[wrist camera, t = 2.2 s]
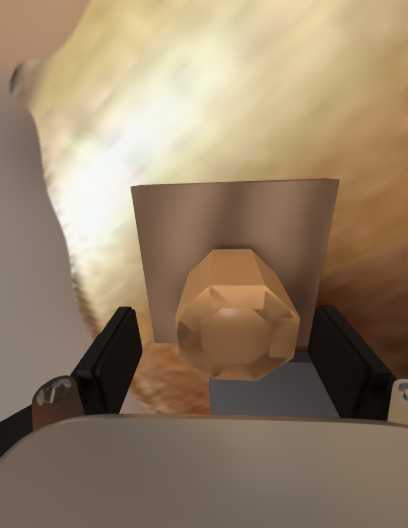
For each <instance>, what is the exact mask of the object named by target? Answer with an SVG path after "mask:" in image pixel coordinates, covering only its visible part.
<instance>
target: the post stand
mask: <svg viewBox="0 0 408 528" xmlns="http://www.w3.org/2000/svg"><path fill="white" fill-rule="evenodd" d="M338 185H339V180H338V179H301V180H272V181H243V182H215V183H186V184H157V185H138V186H132V187H131V193H132V199H133V206H134V212H135V218H136V225H137V231H138V237H139V244H140V250H141V257H142V263H143V269H144V276H145V282H146V288H147V295H148V301H149V307H150V314H151V320H152V327H153V333H154V339H155V343H178V339H177V329H176V320H175V315H176V312H177V309H178V306H179V303H180V299H181V296H182V293H183V290H184V286H185V283H186V280H187V277H188V274H189V272H190V271H191V270H193V269H194V268H195V267H196V266H197V265H198V264H199V263H200V262H201V261H202V260H203V259H204V258H205V257H206V256H207V255H208V254H209V253H210V252H211V251H212V250H213V249H251V250H252V251H253V252H255V253H256V254H257V255H258V256H259V257H260V258H261V259H262V260H263V261H264V262H265V263H266V264H267V265H268V266H269V267H270V268H271V269H272V270H273V271H274V272H275V273H276V274H277V276H278V278H279V280H280V282H281V284H282V285H283V287H284V289H285V291H286V293H287V295H288V297H289V298H290V300H291V302H292V304H293V306H294V308H295V309H296V311H297V313H298V315H299V317H300V322H299V329H298V335H297V341H296V346H308V342H309V337H310V332H311V326H312V321H313V316H314V311H315V305H316V300H317V295H318V290H319V284H320V279H321V274H322V269H323V264H324V258H325V253H326V248H327V243H328V237H329V232H330V227H331V222H332V216H333V211H334V206H335V201H336V196H337V190H338Z"/></svg>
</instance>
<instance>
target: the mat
mask: <svg viewBox="0 0 408 528" xmlns="http://www.w3.org/2000/svg"><path fill="white" fill-rule="evenodd" d="M209 382H210V409H211V415H247V416H289V417H327V418H340V417H339V415H338V413H337V411H336V409H335V407H334V405H333V403H332V401H331V399H330V397H329V395H328V393H327V391H326V389H325V387H324V385H323V383H322V381H321V379H320V377H319V375H318V373H317V371H316V369H315V367H314V365H313V363H312V361H311V359H310V357H309V355H308V351H295V353H294V358H293V359H291V360H289V361H288V362H286V363H285V364H283V365H282V366H280V367H278V368H277V369H275V370H274V371H272V372H270V373H269V374H267V375H266V376H264V377H263V378H261V379H259V380H258V381H247V380H218V379H211V378H210V377H209Z"/></svg>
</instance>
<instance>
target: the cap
mask: <svg viewBox="0 0 408 528" xmlns="http://www.w3.org/2000/svg"><path fill="white" fill-rule="evenodd" d="M175 320H176V329H177V339H178V348H179V355H180V356H181V357H183V358H184V359H186V360H187V361H188V362H190V363H191V364H192V365H194V366H195V367H196V368H198V369H199V370H201V371H202V372H203V373H205V374H206V375H207V376H209V377H210V378H211V379H218V380H247V381H258V380H259V379H261V378H263V377H264V376H266V375H267V374H269V373H270V372H272V371H274V370H275V369H277V368H278V367H280V366H282V365H283V364H285V363H286V362H288V361H289V360H291V359H293V358H294V353H295V347H296V341H297V335H298V329H299V322H300V317H299V315H298V313H297V311H296V309H295V308H294V306H293V304H292V302H291V300H290V298H289V297H288V295H287V293H286V291H285V289H284V287H283V285H282V284H281V282H280V280H279V278H278V276H277V274H276V273H275V272H274V271H273V270H272V269H271V268H270V267H269V266H268V265H267V264H266V263H265V262H264V261H263V260H262V259H261V258H260V257H259V256H258V255H257V254H256V253H255V252H253V251H252V250H251V249H213V250H212V251H211V252H210V253H209V254H208V255H207V256H206V257H205V258H204V259H203V260H202V261H201V262H200V263H199V264H198V265H197V266H196V267H195V268H194V269H193V270H191V271H190V272H189V274H188V277H187V280H186V283H185V286H184V290H183V293H182V296H181V299H180V303H179V306H178V309H177V312H176V315H175Z"/></svg>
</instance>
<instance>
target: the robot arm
mask: <svg viewBox="0 0 408 528" xmlns="http://www.w3.org/2000/svg"><path fill="white" fill-rule="evenodd" d="M141 355H142V344H141V339H140V333H139V328H138V323H137V318H136V313H135V310H134V309H132V308H131V307H119V308H118V309H117V311H116V312H115V313H114V315H113V316H112V318H111V319H110V321H109V322H108V324H107V325H106V326H105V328H104V329H103V331H102V332H101V333H100V334H99V335H98V336H97V337H96V339H95V340H94V342H93V343H92V345H91V346H90V347H89V349H88V350H87V352H86V353H85V355H84V356H83V358H82V359H81V360H80V362H79V363H78V365H77V366H76V368H75V369H74V371H73V372H72V373H71V375H70V376H68V375H63V376H59V377H56V378H53V379H51V380H49V381H48V382H46V383H45V384H44V385H42V386H41V387H40V388H39V389H38V390H37V391H36V393H35V394H34V396H33V399H32V404H31V405H30V406H28V407H26V408H24V409H22V410H21V411H19V412H17V413H15V414H14V415H12V416H10V417H8V418H6V419H5V420H3V421H1V422H0V528H408V379H398V380H397V379H396V377H395V376H394V375H393V374H392V372H391V371H390V370H389V369H388V368H387V366H386V365H385V364H384V363H383V362H382V361H381V360H380V358H379V357H378V356H377V355H376V354H375V353H374V352H373V350H372V349H371V348H370V347H369V346H368V345H367V344H366V342H365V341H364V340H363V339H362V338H361V337H360V335H359V334H358V333H357V332H356V331H355V330H354V329H353V327H352V326H351V325H350V324H349V323H348V322H347V321H346V319H345V318H344V317H343V316H342V315H341V314H340V313H339V311H338V310H337V309H336V308H335V307H334V306H332V305H321V306H319V308H317V309H316V310H315V314H314V319H313V324H312V329H311V334H310V340H309V345H308V355H309V357H310V359H311V361H312V363H313V365H314V367H315V369H316V371H317V373H318V375H319V377H320V379H321V381H322V383H323V385H324V387H325V389H326V391H327V393H328V395H329V397H330V399H331V401H332V403H333V405H334V407H335V409H336V411H337V413H338V415H339V417H340V418H327V417H289V416H247V415H194V414H119V412H120V409H121V407H122V404H123V402H124V399H125V396H126V394H127V391H128V389H129V386H130V384H131V381H132V379H133V376H134V374H135V371H136V368H137V366H138V363H139V361H140V358H141Z"/></svg>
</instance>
